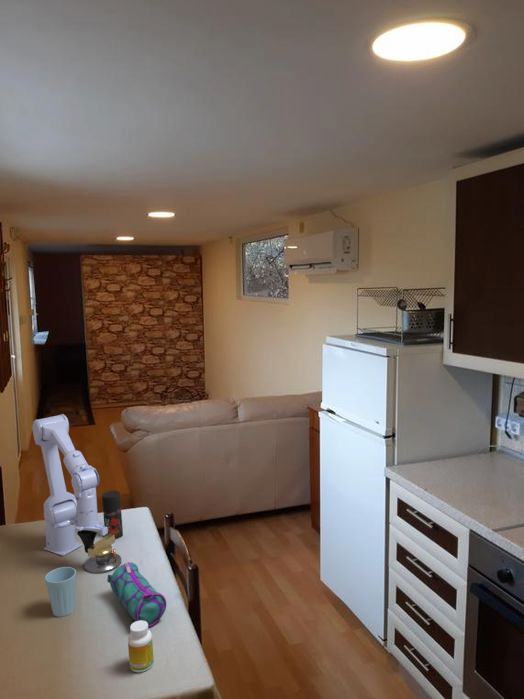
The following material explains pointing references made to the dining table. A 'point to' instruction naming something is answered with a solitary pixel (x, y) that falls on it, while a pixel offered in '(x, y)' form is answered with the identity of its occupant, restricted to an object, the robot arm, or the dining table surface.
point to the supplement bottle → (140, 647)
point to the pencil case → (137, 594)
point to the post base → (103, 563)
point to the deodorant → (112, 513)
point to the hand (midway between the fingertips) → (89, 551)
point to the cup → (61, 590)
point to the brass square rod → (102, 547)
